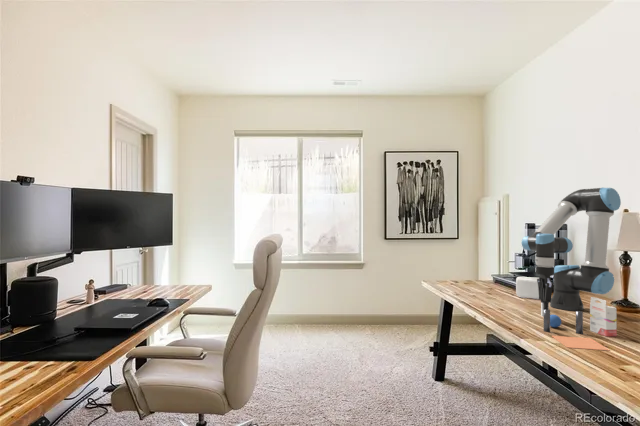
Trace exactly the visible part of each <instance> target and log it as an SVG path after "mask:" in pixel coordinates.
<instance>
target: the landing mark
mask: <svg viewBox="0 0 640 426" xmlns="http://www.w3.org/2000/svg"><path fill="white" fill-rule="evenodd" d="M551 337H552V338H554V339H555V340H556V341H558V342H559V343H560V344H561V345H563V346H564V347H566V348H567V349H578V350H579V349H580V350H582V349H583V350H594V351H595V350H597V351H609V352H610V351H611V350H610V349H609V348H608V347H606V346H604V345H603V344H601V343H599V342H597V341H595V340H594V339H593V338H591V337H579V336H578V337H577V336H563V335H551Z"/></svg>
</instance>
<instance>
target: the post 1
mask: <svg viewBox="0 0 640 426" xmlns="http://www.w3.org/2000/svg"><path fill="white" fill-rule="evenodd" d="M550 315H551V310H550V309H549V310H548V309H544V316H543V332H545V333H550V332H551V326H550Z"/></svg>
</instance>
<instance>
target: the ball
mask: <svg viewBox="0 0 640 426" xmlns="http://www.w3.org/2000/svg"><path fill="white" fill-rule="evenodd" d="M560 326H562V319H561V318H560V316H559V315H557V314H550V328H551V327H552V328H559V327H560Z"/></svg>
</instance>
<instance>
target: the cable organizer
mask: <svg viewBox="0 0 640 426" xmlns="http://www.w3.org/2000/svg"><path fill="white" fill-rule="evenodd" d="M537 279H539V277H530V276H529V277H527V276H517V277H516V278H515V292H516V293H515V295H516V296H517V297H520V298H521V299H527V298H528V299H533V300H540V299H539V291H538V282H537Z"/></svg>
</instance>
